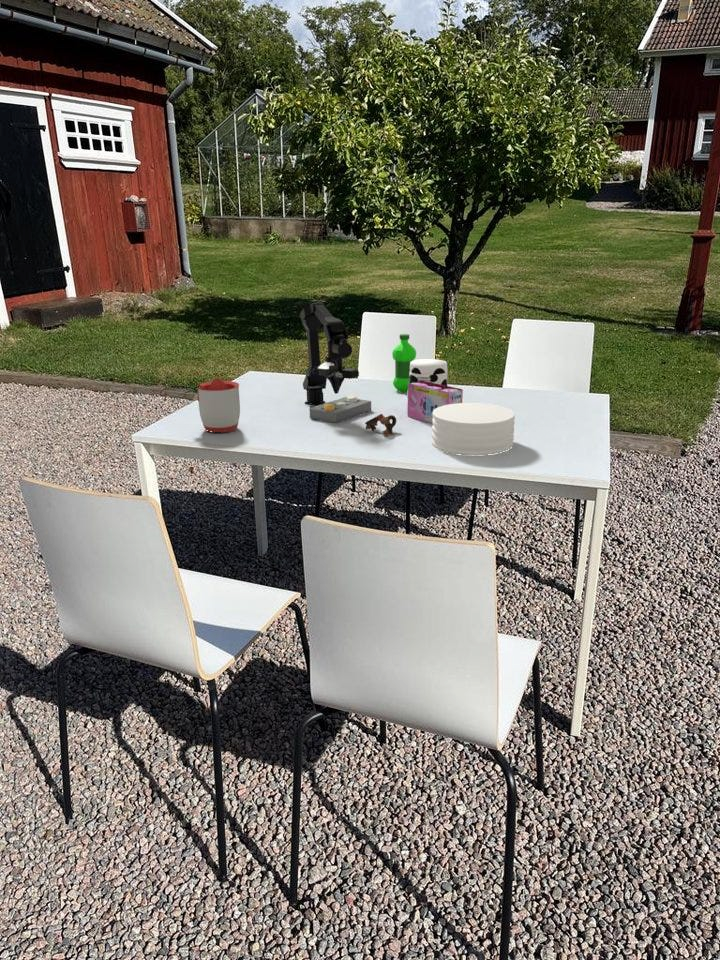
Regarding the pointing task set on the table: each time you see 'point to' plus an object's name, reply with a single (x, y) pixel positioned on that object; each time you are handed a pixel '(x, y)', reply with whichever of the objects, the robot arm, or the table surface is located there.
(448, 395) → the gum box
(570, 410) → the table surface
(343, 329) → the robot arm
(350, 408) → the button panel
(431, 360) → the milk container
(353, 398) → the cream button
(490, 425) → the plate stack
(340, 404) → the sage button
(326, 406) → the amber button
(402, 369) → the plastic bottle
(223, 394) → the citrus juicer
